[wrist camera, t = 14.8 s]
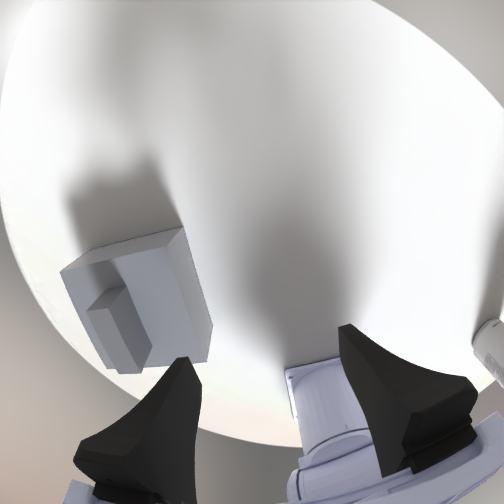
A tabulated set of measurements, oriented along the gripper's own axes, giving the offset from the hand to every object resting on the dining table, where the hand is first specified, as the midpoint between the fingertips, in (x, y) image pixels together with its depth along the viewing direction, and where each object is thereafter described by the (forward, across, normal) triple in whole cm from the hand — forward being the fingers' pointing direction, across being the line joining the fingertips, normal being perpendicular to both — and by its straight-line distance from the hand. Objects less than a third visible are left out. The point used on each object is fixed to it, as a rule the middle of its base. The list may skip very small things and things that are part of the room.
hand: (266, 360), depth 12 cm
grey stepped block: (+10, +9, 0) cm, 14 cm away
